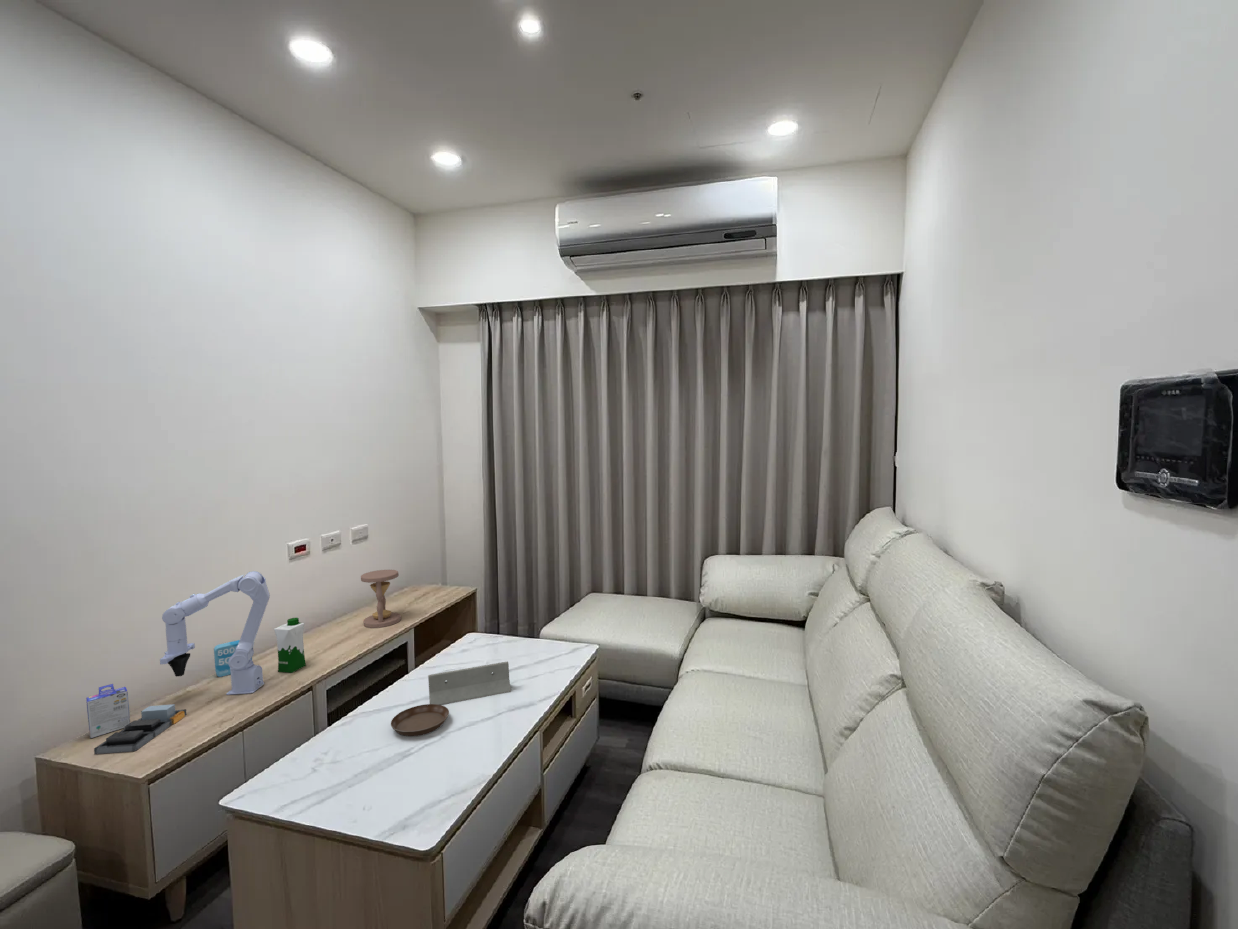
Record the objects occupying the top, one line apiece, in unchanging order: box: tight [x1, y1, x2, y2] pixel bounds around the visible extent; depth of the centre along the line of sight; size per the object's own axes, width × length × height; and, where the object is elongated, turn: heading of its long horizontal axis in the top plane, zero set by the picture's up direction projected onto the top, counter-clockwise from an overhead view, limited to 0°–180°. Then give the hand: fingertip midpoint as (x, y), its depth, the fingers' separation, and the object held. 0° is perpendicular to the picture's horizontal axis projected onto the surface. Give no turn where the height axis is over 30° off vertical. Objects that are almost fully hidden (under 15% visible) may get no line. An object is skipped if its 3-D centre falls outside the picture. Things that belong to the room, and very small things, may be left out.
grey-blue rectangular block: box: [140, 703, 176, 721], centre depth 183 cm, size 8×4×5 cm, turn 95°
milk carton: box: [273, 617, 307, 674], centre depth 222 cm, size 9×9×20 cm
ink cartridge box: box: [85, 683, 131, 739], centre depth 179 cm, size 10×6×14 cm, turn 138°
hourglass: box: [360, 569, 402, 629], centre depth 276 cm, size 18×18×25 cm
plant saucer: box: [390, 703, 450, 738], centre depth 175 cm, size 18×18×3 cm
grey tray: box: [93, 709, 187, 755], centre depth 176 cm, size 12×22×4 cm, turn 5°
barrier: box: [427, 661, 512, 706], centre depth 195 cm, size 28×7×10 cm, turn 110°
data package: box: [213, 639, 253, 678], centre depth 222 cm, size 12×4×12 cm, turn 131°
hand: (179, 675), depth 197 cm, fingers closed
